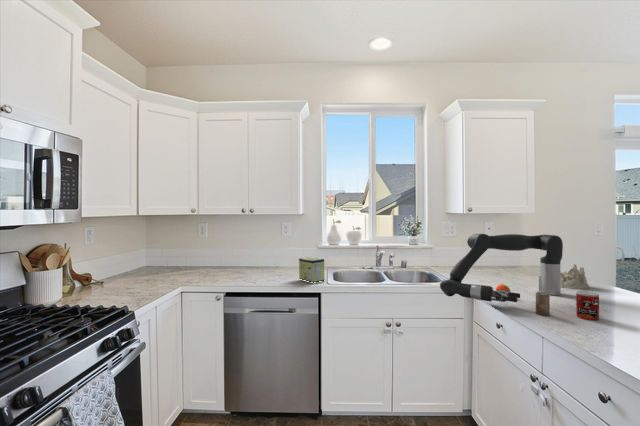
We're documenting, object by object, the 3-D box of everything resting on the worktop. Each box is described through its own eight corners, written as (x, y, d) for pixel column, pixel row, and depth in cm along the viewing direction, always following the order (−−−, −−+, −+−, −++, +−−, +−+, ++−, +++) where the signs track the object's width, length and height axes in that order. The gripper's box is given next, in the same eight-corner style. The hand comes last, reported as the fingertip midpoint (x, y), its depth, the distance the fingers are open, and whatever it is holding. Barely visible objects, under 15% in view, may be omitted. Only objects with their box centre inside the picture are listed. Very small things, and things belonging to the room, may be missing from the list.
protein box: (310, 278, 228) (309, 256, 228) (325, 281, 217) (324, 259, 217) (298, 280, 221) (298, 258, 221) (313, 284, 210) (313, 260, 210)
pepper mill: (533, 313, 146) (533, 291, 146) (539, 311, 148) (539, 290, 148) (545, 316, 141) (545, 293, 141) (552, 314, 144) (551, 292, 144)
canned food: (575, 318, 139) (575, 293, 139) (577, 313, 145) (577, 289, 145) (598, 322, 134) (598, 296, 134) (599, 317, 140) (599, 292, 140)
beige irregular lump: (594, 288, 191) (591, 263, 192) (573, 291, 187) (571, 265, 187) (568, 284, 206) (565, 260, 207) (548, 286, 202) (546, 263, 202)
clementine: (515, 298, 171) (515, 285, 171) (505, 299, 169) (504, 286, 169) (502, 294, 178) (502, 282, 178) (492, 295, 176) (492, 283, 176)
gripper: (477, 288, 156) (516, 293, 145) (484, 282, 167) (520, 287, 156) (477, 303, 156) (516, 309, 146) (485, 296, 167) (521, 302, 156)
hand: (518, 297), depth 151 cm, fingers open, 8 cm apart
